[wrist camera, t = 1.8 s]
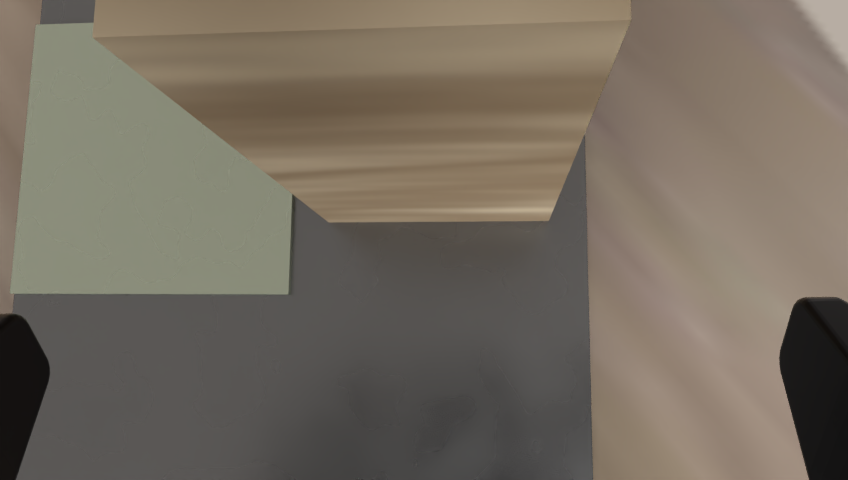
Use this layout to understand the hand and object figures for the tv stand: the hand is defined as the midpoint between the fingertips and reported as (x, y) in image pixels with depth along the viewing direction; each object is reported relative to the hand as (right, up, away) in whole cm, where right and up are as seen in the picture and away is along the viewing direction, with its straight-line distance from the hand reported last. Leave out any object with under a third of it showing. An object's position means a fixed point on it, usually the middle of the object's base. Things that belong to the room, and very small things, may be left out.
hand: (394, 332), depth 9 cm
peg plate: (-3, 0, +13) cm, 13 cm away
